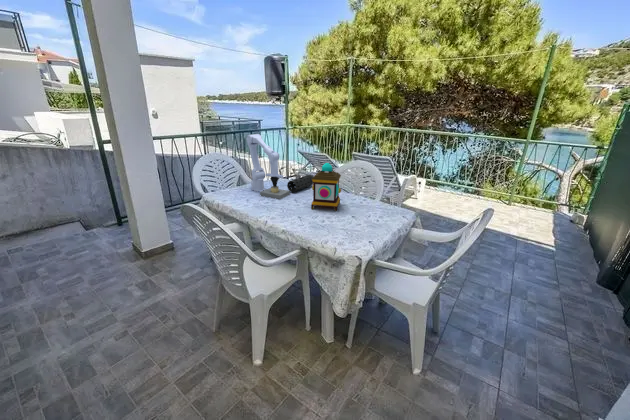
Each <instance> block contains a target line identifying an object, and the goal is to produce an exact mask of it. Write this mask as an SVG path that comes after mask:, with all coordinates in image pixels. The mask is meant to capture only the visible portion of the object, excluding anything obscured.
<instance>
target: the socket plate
mask: <svg viewBox="0 0 630 420" xmlns="http://www.w3.org/2000/svg"><path fill="white" fill-rule="evenodd" d="M259 194H260V195H261V196H260V195H259V196H260V197H264V196H265V197H264V198H269V197H271V198H270V199H275V198H276V199H275V200H282V199H284V198H286V197H288V196H290V195H291V191H289V190H287V189H280V188H279V192H277V193H273V192H271V187H269V188H266V190H264V191H261V192H259Z"/></svg>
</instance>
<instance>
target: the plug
mask: <svg viewBox="0 0 630 420" xmlns="http://www.w3.org/2000/svg"><path fill="white" fill-rule="evenodd" d="M279 186H280V185H279ZM279 186H278V185H277V186H276V187H274V186H273V185H272V186H270V188H271V192H273V193H277V192H279V189H280V187H279Z"/></svg>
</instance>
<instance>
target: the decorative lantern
mask: <svg viewBox="0 0 630 420" xmlns="http://www.w3.org/2000/svg"><path fill="white" fill-rule="evenodd" d="M313 176H314V177H313V178H312V181H313V185H311V186H312V187H311V189H312V192H313V193H312V194H313V195H312V196H313V197H312V202H311V205H310V208H311V210H314V209H315V208H314V207H315V206H316V207H325V208H327V207H328V208H334V211H335V212H337V211H338V206H339V204H340V203H341V198H340V195H339V194H341V192H342V188H341V187H340V179H341V176H342V174H341V173H339V172H336V171H335V170H334V169H333V166H332V165H331V164H330V163H329V162H325V163H324V164H323V165H322V166H321V170H319V171H318V172H316V174H314V175H313Z"/></svg>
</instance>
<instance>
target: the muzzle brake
mask: <svg viewBox="0 0 630 420" xmlns="http://www.w3.org/2000/svg"><path fill="white" fill-rule="evenodd" d="M314 176H315V175H312V174H305V175H303V176H301V177H298V178H296V179H295V178H294V179H292V180H289V181H288V182H287V184H286V187H287V189H288V191H290V193H291V194H292V193H296V192H298V191H300V190H301V191H302V189H307V188H308V187H310V186H313V181H312V178H313V177H314Z"/></svg>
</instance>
